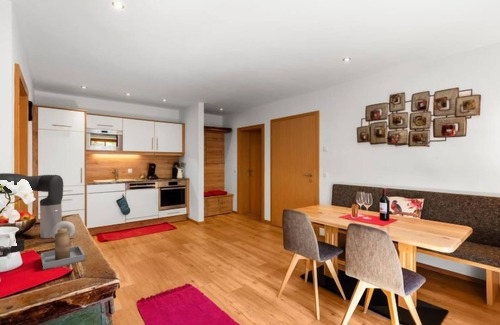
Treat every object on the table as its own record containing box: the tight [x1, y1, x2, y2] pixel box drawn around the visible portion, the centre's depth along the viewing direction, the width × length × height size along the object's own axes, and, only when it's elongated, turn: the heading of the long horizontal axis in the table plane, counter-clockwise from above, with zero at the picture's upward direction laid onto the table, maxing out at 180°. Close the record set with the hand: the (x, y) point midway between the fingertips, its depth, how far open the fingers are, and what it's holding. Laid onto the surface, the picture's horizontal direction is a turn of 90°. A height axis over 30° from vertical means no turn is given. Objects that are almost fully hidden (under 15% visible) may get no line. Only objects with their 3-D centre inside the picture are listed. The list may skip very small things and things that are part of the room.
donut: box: [51, 220, 76, 240], centre depth 129 cm, size 10×4×10 cm, turn 130°
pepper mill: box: [54, 228, 71, 261], centre depth 104 cm, size 5×5×12 cm
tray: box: [40, 245, 86, 271], centre depth 104 cm, size 14×13×2 cm
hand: (24, 244), depth 96 cm, fingers open, 8 cm apart
